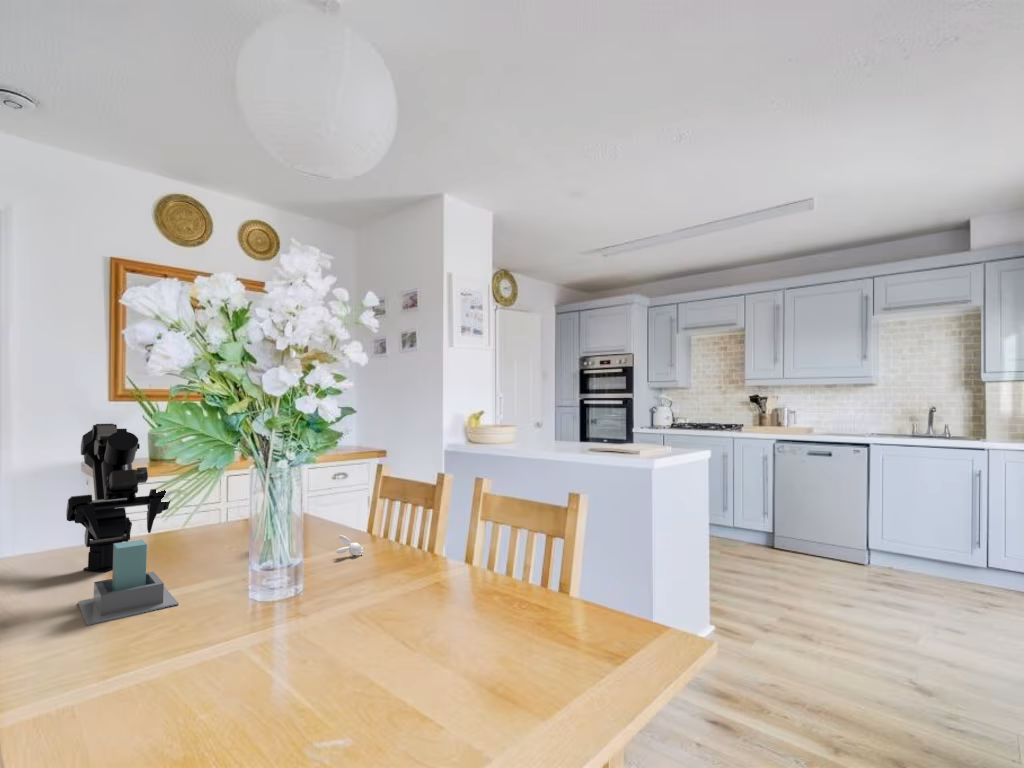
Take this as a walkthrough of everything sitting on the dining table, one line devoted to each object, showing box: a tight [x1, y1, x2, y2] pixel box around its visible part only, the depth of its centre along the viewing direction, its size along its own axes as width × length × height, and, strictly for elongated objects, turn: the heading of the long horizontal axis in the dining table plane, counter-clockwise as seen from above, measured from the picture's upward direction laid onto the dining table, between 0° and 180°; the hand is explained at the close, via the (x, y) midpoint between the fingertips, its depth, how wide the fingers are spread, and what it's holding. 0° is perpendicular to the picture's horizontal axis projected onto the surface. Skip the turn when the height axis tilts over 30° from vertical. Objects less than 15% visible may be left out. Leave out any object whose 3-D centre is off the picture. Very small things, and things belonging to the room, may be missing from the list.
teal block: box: [111, 539, 148, 592], centre depth 111 cm, size 5×5×12 cm
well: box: [77, 571, 179, 626], centre depth 111 cm, size 15×15×4 cm
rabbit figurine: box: [336, 534, 364, 556], centre depth 147 cm, size 6×4×8 cm
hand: (124, 535), depth 116 cm, fingers open, 9 cm apart
